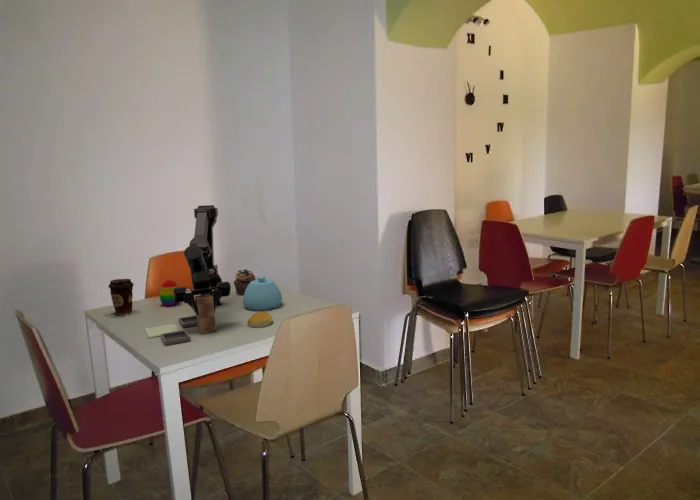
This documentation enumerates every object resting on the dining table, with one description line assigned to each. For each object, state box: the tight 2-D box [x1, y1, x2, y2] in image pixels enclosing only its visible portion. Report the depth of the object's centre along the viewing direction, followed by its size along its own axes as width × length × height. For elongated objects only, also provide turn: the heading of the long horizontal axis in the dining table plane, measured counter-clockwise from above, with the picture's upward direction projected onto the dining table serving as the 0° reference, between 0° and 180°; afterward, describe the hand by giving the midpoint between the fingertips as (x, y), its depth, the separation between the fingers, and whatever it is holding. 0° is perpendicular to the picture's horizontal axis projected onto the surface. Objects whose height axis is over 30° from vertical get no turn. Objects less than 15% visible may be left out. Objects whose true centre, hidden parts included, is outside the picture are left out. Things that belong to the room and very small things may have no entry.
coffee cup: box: [107, 278, 135, 316], centre depth 213 cm, size 9×8×13 cm
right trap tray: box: [177, 315, 198, 329], centre depth 199 cm, size 8×8×2 cm
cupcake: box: [233, 268, 257, 296], centre depth 238 cm, size 10×10×10 cm
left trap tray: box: [160, 329, 192, 347], centre depth 182 cm, size 8×8×2 cm
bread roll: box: [246, 311, 274, 328], centre depth 196 cm, size 8×9×4 cm
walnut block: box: [194, 294, 217, 335], centre depth 189 cm, size 5×5×12 cm
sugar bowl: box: [242, 276, 283, 311], centre depth 218 cm, size 15×15×12 cm
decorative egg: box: [158, 279, 180, 307], centre depth 224 cm, size 8×8×10 cm
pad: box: [144, 323, 180, 339], centre depth 191 cm, size 10×10×1 cm
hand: (206, 313), depth 188 cm, fingers closed on walnut block, 5 cm apart
